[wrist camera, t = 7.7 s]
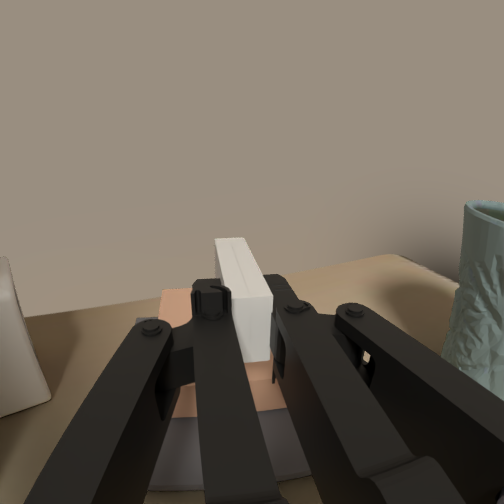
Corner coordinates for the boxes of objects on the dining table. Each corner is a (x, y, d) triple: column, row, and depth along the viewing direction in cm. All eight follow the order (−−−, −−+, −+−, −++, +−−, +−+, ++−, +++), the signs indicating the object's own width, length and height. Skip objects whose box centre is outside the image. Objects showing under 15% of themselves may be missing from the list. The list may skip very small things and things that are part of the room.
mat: (108, 487, 11) (104, 482, 11) (137, 323, 25) (136, 317, 25) (386, 453, 13) (390, 447, 13) (302, 313, 28) (302, 307, 27)
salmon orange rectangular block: (148, 386, 14) (162, 289, 24) (157, 420, 15) (166, 318, 25) (326, 370, 16) (276, 283, 26) (319, 404, 17) (274, 311, 27)
